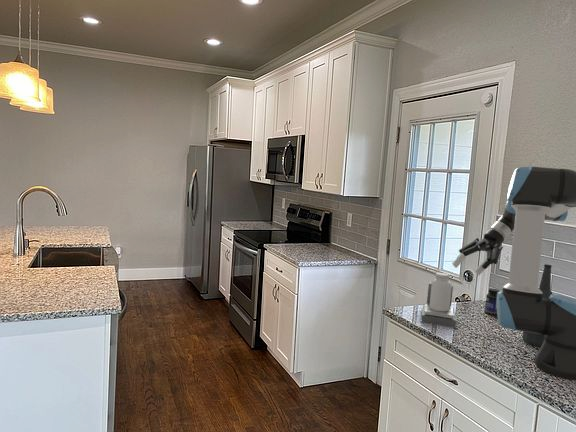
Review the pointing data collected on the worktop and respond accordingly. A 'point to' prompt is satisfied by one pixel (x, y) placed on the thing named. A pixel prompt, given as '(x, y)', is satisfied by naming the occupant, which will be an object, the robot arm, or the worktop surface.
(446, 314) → the gray flat rectangular slab
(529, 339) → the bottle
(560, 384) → the worktop surface
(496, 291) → the pill bottle
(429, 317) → the scale
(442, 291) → the pill bottle
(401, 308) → the worktop surface
